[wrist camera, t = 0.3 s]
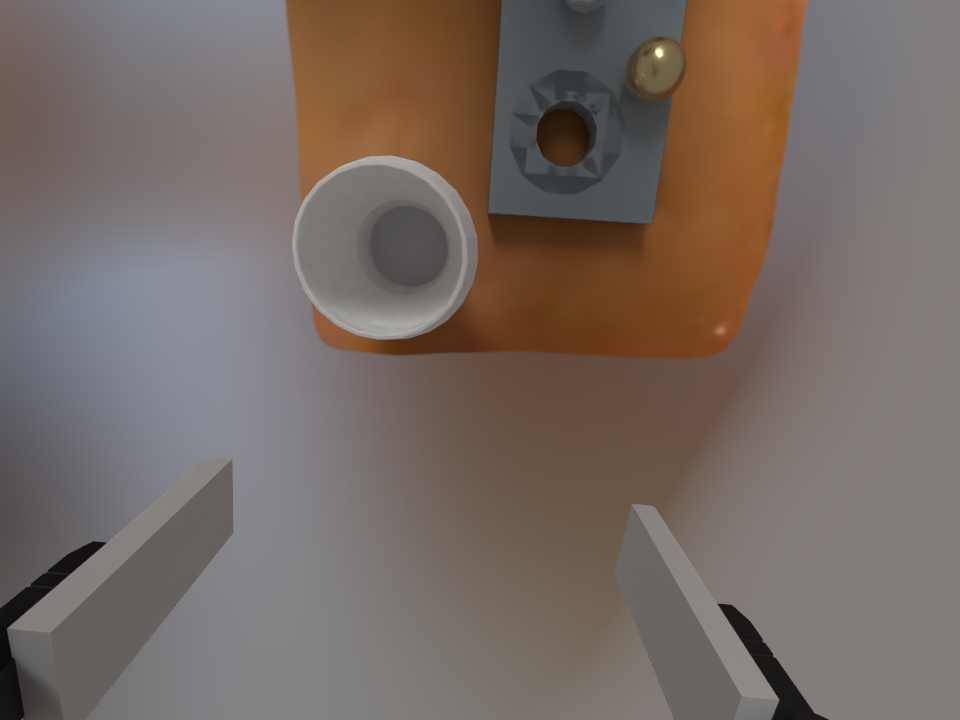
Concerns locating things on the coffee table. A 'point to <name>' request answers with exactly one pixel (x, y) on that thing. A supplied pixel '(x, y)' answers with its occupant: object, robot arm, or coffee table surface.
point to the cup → (385, 248)
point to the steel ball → (584, 5)
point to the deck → (578, 109)
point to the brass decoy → (655, 69)
